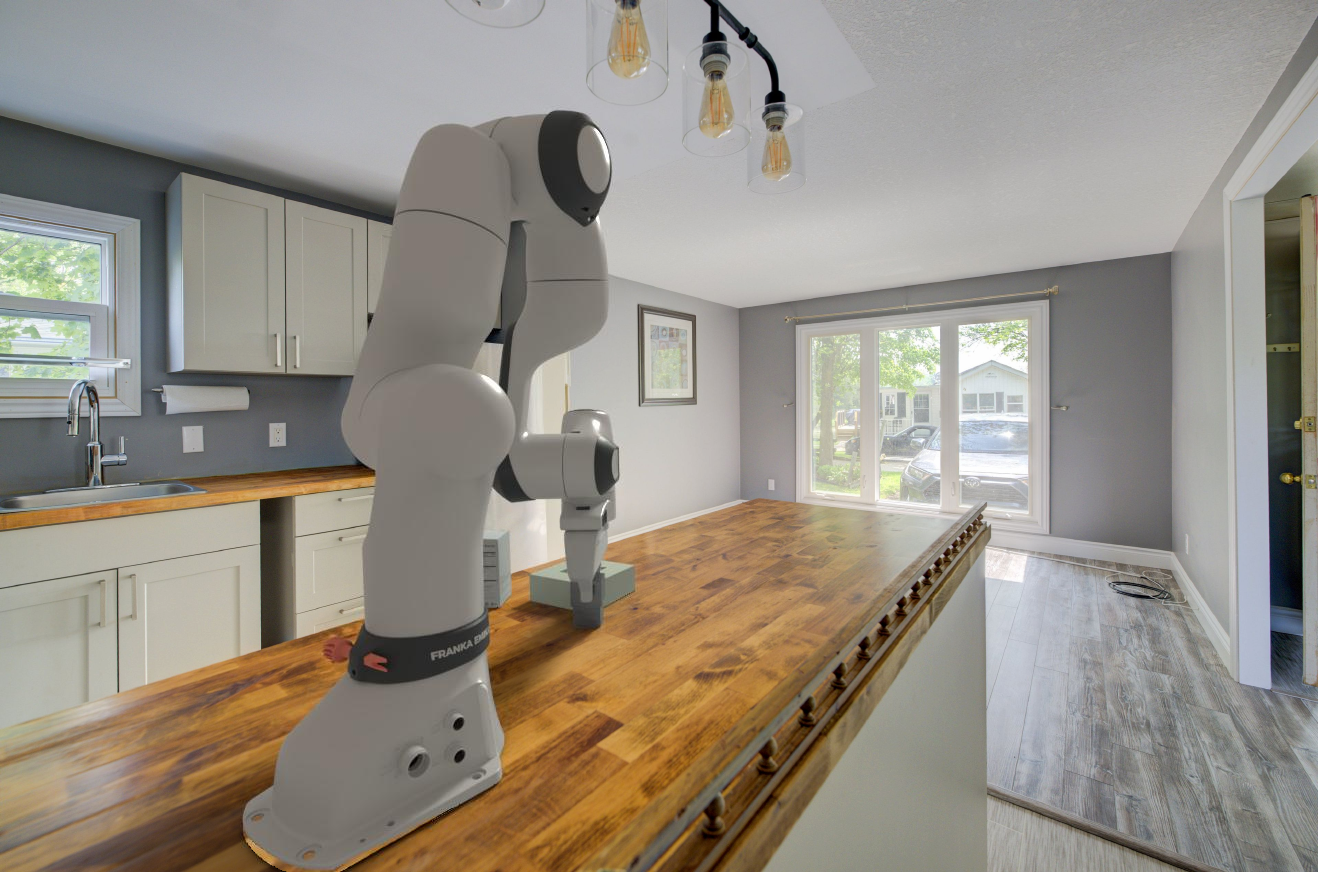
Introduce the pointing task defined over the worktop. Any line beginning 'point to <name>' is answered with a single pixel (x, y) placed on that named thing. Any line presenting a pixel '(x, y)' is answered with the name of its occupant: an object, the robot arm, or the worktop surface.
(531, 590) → the block
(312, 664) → the worktop surface
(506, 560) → the supplement box
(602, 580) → the knob
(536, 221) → the robot arm
